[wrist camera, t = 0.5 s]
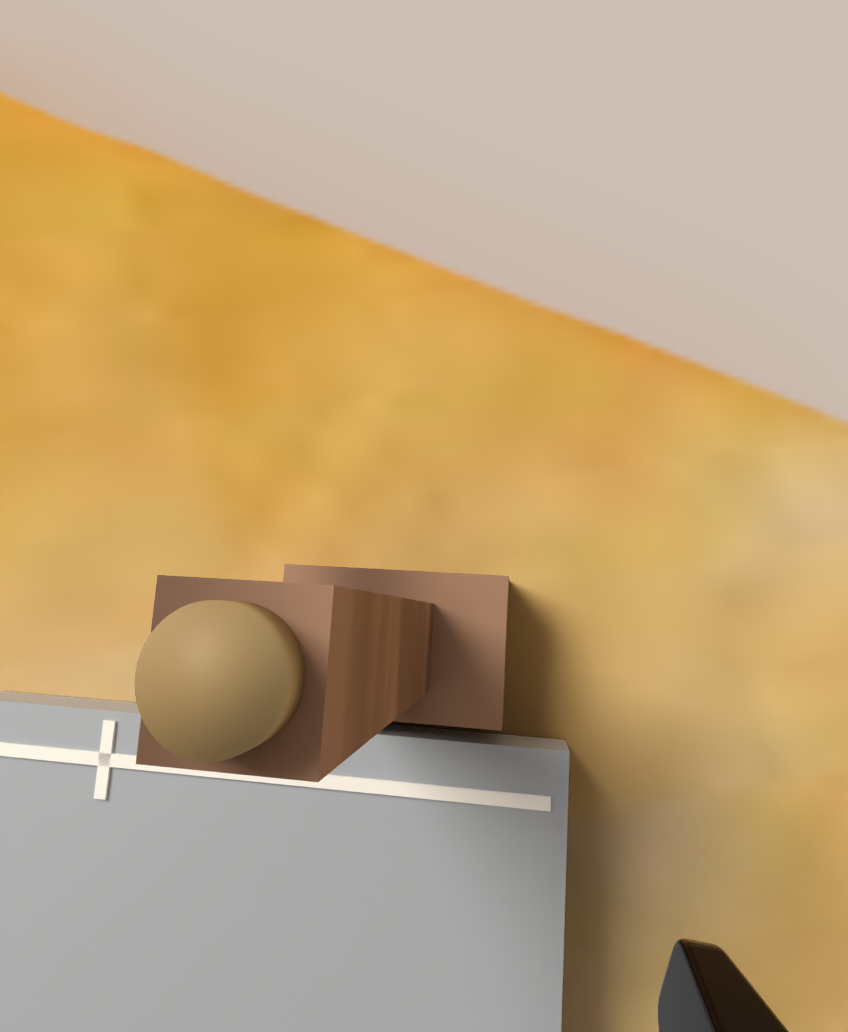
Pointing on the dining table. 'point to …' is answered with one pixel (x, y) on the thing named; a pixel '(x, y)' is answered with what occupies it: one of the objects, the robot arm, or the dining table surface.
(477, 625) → the newel post
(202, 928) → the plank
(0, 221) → the dining table surface
